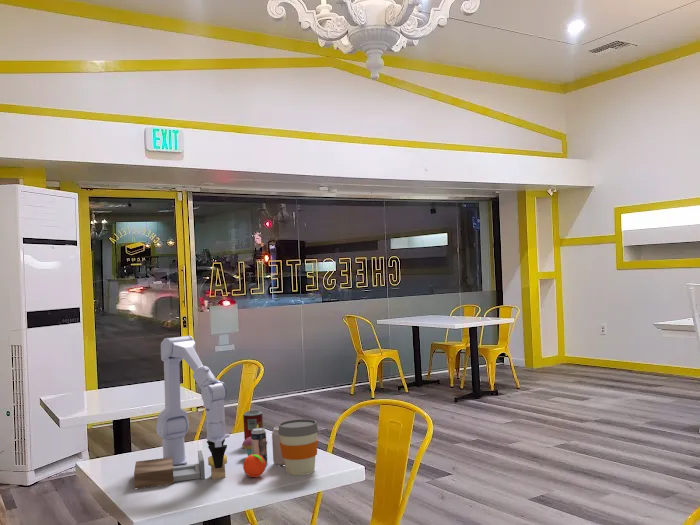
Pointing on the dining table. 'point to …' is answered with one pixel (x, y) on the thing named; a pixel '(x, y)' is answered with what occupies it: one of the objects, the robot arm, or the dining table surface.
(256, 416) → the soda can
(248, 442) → the cupcake
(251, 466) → the clementine
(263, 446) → the beer can
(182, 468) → the tray
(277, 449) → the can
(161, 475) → the housing
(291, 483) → the dining table surface
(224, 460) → the yellow flat dome
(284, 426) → the reusable coffee cup
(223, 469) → the block
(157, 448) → the dining table surface
